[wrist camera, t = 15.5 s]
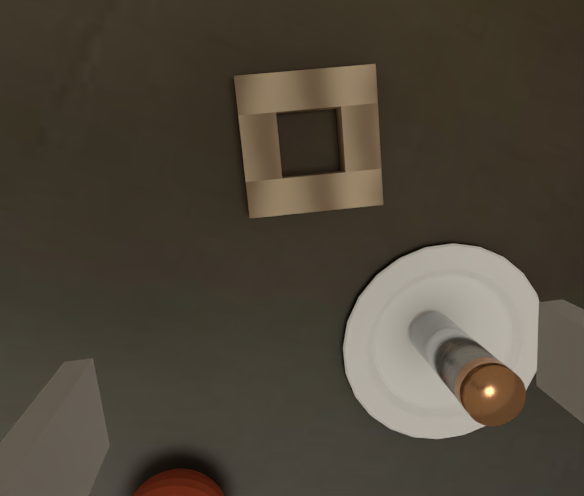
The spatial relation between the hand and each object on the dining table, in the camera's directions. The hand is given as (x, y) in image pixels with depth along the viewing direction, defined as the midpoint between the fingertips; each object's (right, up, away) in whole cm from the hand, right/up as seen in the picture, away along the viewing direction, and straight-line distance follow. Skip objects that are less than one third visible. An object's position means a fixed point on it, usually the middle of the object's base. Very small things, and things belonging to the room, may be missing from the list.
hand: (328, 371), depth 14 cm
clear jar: (+13, -5, +33) cm, 36 cm away
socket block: (0, +13, +30) cm, 33 cm away
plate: (+14, -6, +36) cm, 39 cm away
